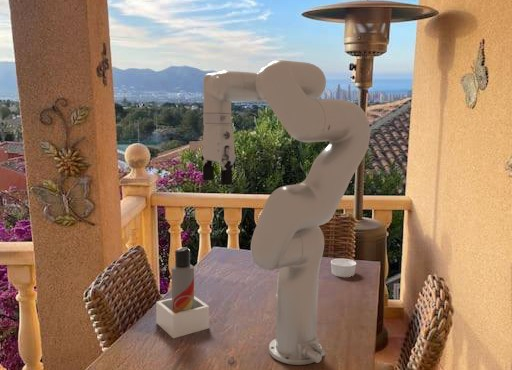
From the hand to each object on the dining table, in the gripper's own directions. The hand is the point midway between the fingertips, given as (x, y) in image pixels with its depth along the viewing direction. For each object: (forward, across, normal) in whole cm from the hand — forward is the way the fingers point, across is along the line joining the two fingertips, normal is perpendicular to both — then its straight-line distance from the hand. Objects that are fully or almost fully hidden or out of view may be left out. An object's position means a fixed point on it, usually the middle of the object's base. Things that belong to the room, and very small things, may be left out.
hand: (217, 182), depth 133 cm
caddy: (+36, -6, +14) cm, 39 cm away
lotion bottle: (+36, -6, +14) cm, 39 cm away
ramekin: (+37, 0, -51) cm, 63 cm away
